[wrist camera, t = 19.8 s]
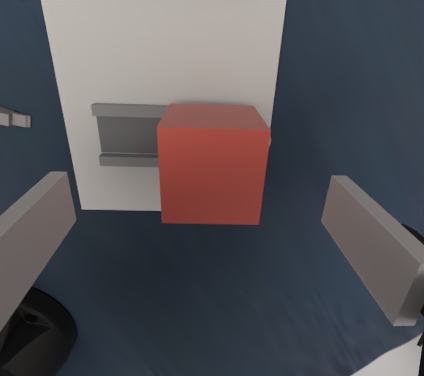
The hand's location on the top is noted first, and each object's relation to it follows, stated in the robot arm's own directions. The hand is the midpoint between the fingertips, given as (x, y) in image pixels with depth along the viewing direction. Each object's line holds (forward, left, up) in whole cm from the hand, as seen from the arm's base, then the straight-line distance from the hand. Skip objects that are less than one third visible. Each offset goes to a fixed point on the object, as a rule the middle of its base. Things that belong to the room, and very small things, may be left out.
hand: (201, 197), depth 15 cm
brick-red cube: (+1, 0, -8) cm, 8 cm away
